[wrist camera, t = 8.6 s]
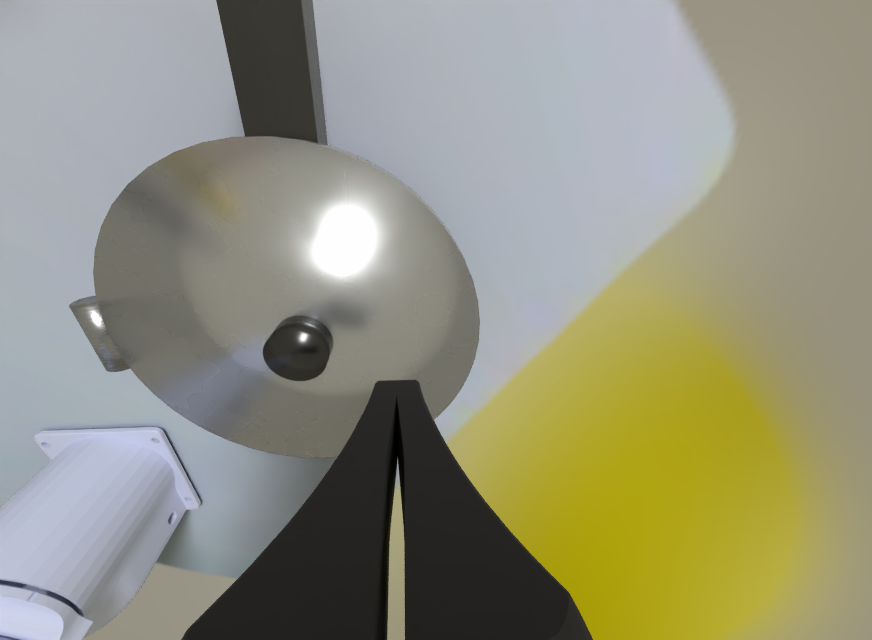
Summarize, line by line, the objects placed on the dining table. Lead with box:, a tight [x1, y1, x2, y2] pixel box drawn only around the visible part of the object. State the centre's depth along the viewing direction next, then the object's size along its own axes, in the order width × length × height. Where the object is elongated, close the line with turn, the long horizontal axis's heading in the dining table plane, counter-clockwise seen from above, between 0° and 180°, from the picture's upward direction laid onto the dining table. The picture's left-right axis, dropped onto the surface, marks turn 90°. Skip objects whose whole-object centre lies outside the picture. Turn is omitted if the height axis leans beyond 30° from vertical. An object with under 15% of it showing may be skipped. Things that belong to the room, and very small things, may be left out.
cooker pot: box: [216, 0, 327, 145], centre depth 15 cm, size 20×14×5 cm
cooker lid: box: [69, 136, 480, 458], centre depth 13 cm, size 15×16×2 cm
